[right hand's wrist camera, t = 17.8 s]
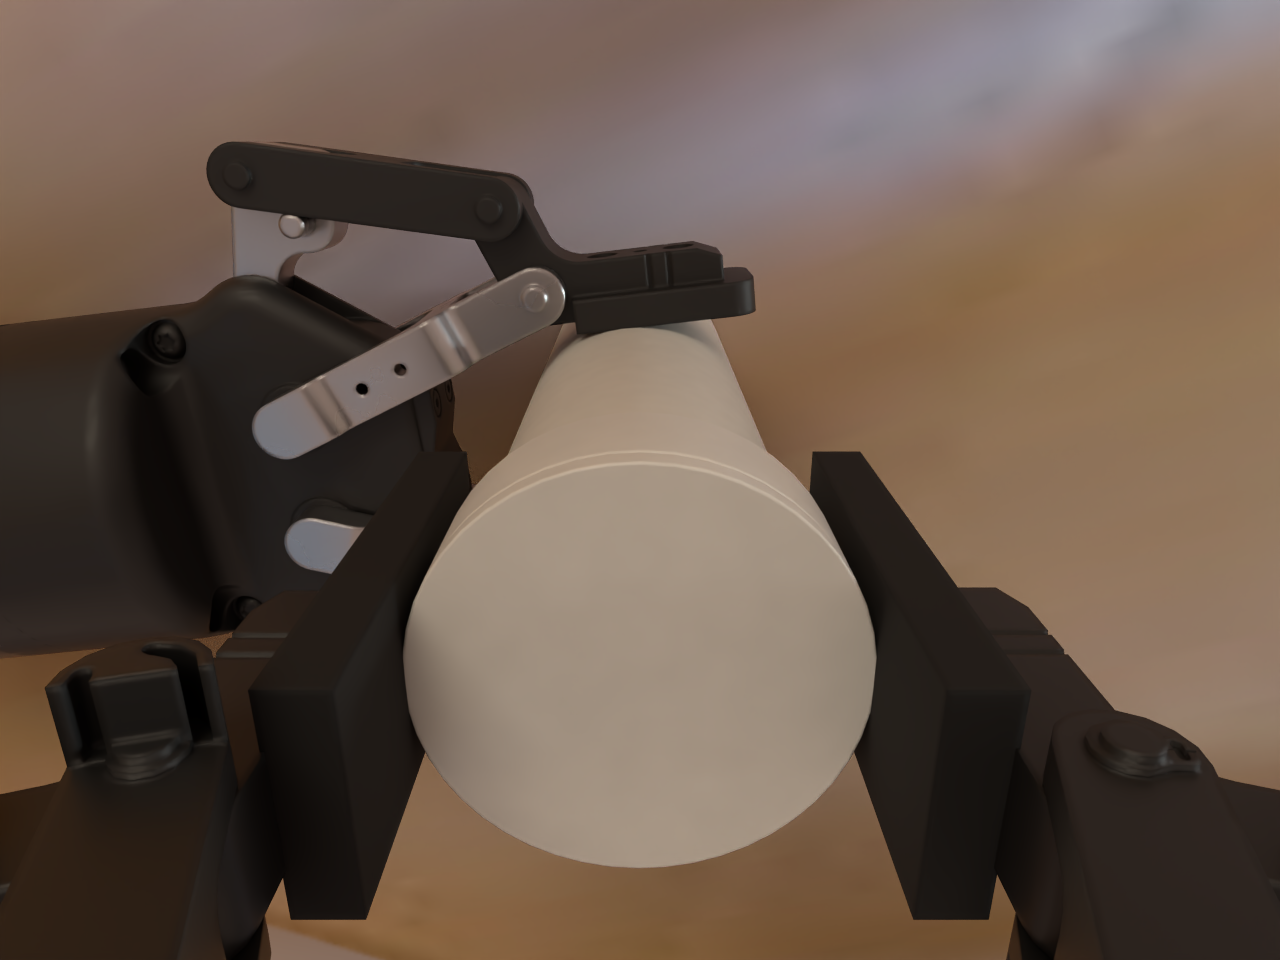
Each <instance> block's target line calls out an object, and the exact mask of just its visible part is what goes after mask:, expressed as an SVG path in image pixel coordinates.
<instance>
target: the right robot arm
mask: <svg viewBox="0 0 1280 960" xmlns="http://www.w3.org/2000/svg"><path fill="white" fill-rule="evenodd" d="M469 494H470V489H469V475H468V462H467V452H419V453H418V454H417V456H416V457H415V458H414V460H413V461H412V463H411V464H410V465H409V467H408V468H407V469H406V471H405V472H404V474H403V475H402V476H401V478H400V479H399V481H398V482H397V483H396V485H395V486H394V488H393V489H392V490H391V492H390V493H389V495H388V496H387V497H386V499H385V500H384V501H383V503H382V504H381V506H380V507H379V508H378V510H377V511H376V513H375V514H374V515H373V517H372V518H371V520H370V521H369V522H368V524H367V525H366V526H365V528H364V529H363V531H362V532H361V533H360V535H359V536H358V538H357V539H356V540H355V542H354V543H353V545H352V546H351V547H350V549H349V550H348V551H347V553H346V554H345V556H344V557H343V558H342V560H341V561H340V563H339V564H338V565H337V567H336V568H335V570H334V571H333V572H332V574H331V575H330V577H329V578H328V579H327V581H326V582H325V583H324V585H323V586H322V588H321V589H320V590H284V591H282V592H281V593H279V594H278V595H276V596H274V597H273V598H271V599H269V600H268V601H266V602H264V603H263V604H261V605H259V606H258V607H256V608H255V609H253V610H251V612H250V613H249V614H248V615H247V616H246V618H245V619H244V620H243V621H242V622H241V624H240V625H239V626H238V627H237V628H236V630H235V631H234V632H233V633H232V638H228V639H227V640H226V642H225V643H224V644H223V645H222V646H221V648H220V649H219V650H218V651H217V652H216V658H213V655H212V650H210V649H209V648H208V647H206V646H205V645H204V644H202V643H201V642H200V641H197V640H192V639H187V638H182V637H177V636H173V637H150V638H144V639H139V640H134V641H130V642H125V643H120V644H116V645H113V646H111V647H108V648H105V649H103V650H100V651H97V652H95V653H92V654H90V655H87V656H85V657H83V658H82V659H80V660H78V661H77V662H75V663H73V664H72V665H70V666H68V667H67V668H65V669H63V670H62V671H60V672H59V673H58V674H57V675H56V676H55V678H54V679H53V680H52V681H51V682H50V683H49V684H48V685H47V686H46V687H45V691H46V694H47V698H48V701H49V705H50V708H51V712H52V715H53V719H54V722H55V726H56V729H57V733H58V736H59V740H60V743H61V747H62V750H63V754H64V757H65V761H66V764H67V768H66V771H65V773H64V775H63V777H62V779H61V781H60V782H56V783H52V784H48V785H44V786H39V787H35V788H30V789H25V790H20V791H15V792H10V793H5V794H0V960H270V958H271V948H270V941H269V934H268V929H267V924H266V919H265V913H266V911H267V909H268V907H269V905H270V903H271V901H272V899H273V897H274V895H275V893H276V890H277V888H278V886H279V884H280V882H281V880H282V878H283V880H284V886H285V891H286V896H287V902H288V907H289V912H290V918H291V920H366V918H367V915H368V913H369V910H370V907H371V904H372V901H373V898H374V896H375V893H376V890H377V887H378V884H379V881H380V879H381V876H382V873H383V870H384V867H385V864H386V862H387V859H388V856H389V853H390V850H391V847H392V845H393V842H394V839H395V836H396V833H397V830H398V828H399V825H400V822H401V819H402V816H403V814H404V811H405V808H406V805H407V802H408V799H409V797H410V794H411V791H412V788H413V785H414V782H415V780H416V777H417V774H418V771H419V768H420V765H421V763H422V760H423V757H424V754H425V750H424V748H423V746H422V744H421V742H420V740H419V738H418V736H417V734H416V731H415V728H414V725H413V722H412V719H411V716H410V713H409V709H408V700H407V692H406V684H405V674H404V664H403V646H404V638H405V630H406V625H407V622H408V619H409V615H410V612H411V608H412V605H413V601H414V599H415V597H416V595H417V593H418V591H419V589H420V586H421V584H422V582H423V580H424V578H425V576H426V574H427V572H428V570H429V568H430V566H431V564H432V562H433V560H434V558H435V556H436V554H437V552H438V550H439V548H440V546H441V544H442V542H443V540H444V538H445V536H446V534H447V532H448V530H449V528H450V526H451V524H452V522H453V520H454V518H455V516H456V514H457V512H458V510H459V509H460V507H461V506H462V504H463V503H464V501H465V500H466V498H467V497H468V495H469ZM810 494H811V496H812V497H813V499H814V500H815V502H816V504H817V505H818V507H819V508H820V510H821V512H822V513H823V515H824V517H825V519H826V521H827V523H828V525H829V527H830V529H831V531H832V533H833V535H834V537H835V539H836V541H837V543H838V545H839V547H840V549H841V551H842V553H843V555H844V557H845V559H846V561H847V563H848V565H849V567H850V569H851V571H852V573H853V575H854V577H855V579H856V581H857V583H858V585H859V588H860V590H861V592H862V594H863V597H864V599H865V601H866V603H867V606H868V610H869V614H870V617H871V621H872V625H873V628H874V633H875V643H876V656H877V658H876V668H875V678H874V687H873V695H872V704H871V712H870V715H869V718H868V720H867V723H866V726H865V729H864V732H863V734H862V737H861V739H860V741H859V743H858V745H857V747H856V749H855V750H854V753H855V756H856V758H857V761H858V764H859V767H860V770H861V773H862V775H863V778H864V781H865V784H866V787H867V790H868V792H869V795H870V798H871V801H872V804H873V807H874V809H875V812H876V815H877V818H878V821H879V824H880V826H881V829H882V832H883V835H884V838H885V841H886V843H887V846H888V849H889V852H890V855H891V858H892V860H893V863H894V866H895V869H896V872H897V874H898V877H899V880H900V883H901V886H902V889H903V891H904V894H905V897H906V900H907V903H908V906H909V908H910V911H911V914H912V917H913V920H989V915H990V909H991V904H992V899H993V893H994V888H995V883H996V877H997V875H998V877H999V879H1000V881H1001V883H1002V885H1003V887H1004V889H1005V891H1006V893H1007V895H1008V897H1009V899H1010V901H1011V903H1012V905H1013V908H1014V910H1015V912H1016V914H1015V919H1014V924H1013V929H1012V934H1011V939H1010V944H1009V949H1008V954H1007V959H1006V960H1280V790H1275V789H1270V788H1265V787H1260V786H1255V785H1250V784H1245V783H1240V782H1235V781H1231V780H1228V779H1224V778H1220V777H1218V775H1217V773H1216V771H1215V769H1214V767H1213V765H1212V764H1211V763H1210V761H1209V760H1208V759H1207V758H1206V756H1205V755H1204V754H1203V753H1202V751H1201V750H1200V749H1199V748H1198V747H1197V746H1196V745H1194V744H1193V743H1191V742H1190V741H1188V740H1187V739H1186V738H1184V737H1183V736H1181V735H1180V734H1179V733H1177V732H1176V731H1174V730H1172V729H1170V728H1167V727H1165V726H1163V725H1161V724H1158V723H1156V722H1154V721H1151V720H1149V719H1147V718H1144V717H1140V716H1136V715H1132V714H1128V713H1124V712H1120V711H1116V710H1114V709H1113V707H1112V706H1111V705H1110V704H1109V703H1108V701H1107V700H1106V699H1105V698H1104V697H1103V695H1102V694H1101V693H1100V692H1099V691H1098V690H1097V688H1096V687H1095V686H1094V685H1093V684H1092V682H1091V681H1090V680H1089V679H1088V678H1087V676H1086V675H1085V674H1084V673H1083V672H1082V671H1081V669H1080V668H1079V667H1078V666H1077V665H1076V663H1075V662H1074V661H1073V660H1072V659H1071V657H1070V656H1069V655H1068V654H1064V649H1063V648H1062V647H1061V646H1060V644H1059V643H1058V642H1057V641H1056V640H1055V638H1054V637H1053V636H1052V635H1048V630H1047V629H1046V628H1045V627H1044V625H1043V624H1042V623H1041V622H1040V621H1039V619H1038V618H1037V617H1036V616H1035V615H1034V613H1033V612H1032V611H1031V610H1030V609H1029V608H1028V607H1027V606H1025V605H1024V604H1022V603H1020V602H1019V601H1017V600H1015V599H1014V598H1012V597H1010V596H1009V595H1007V594H1005V593H1004V592H1002V591H1001V590H999V589H997V588H958V587H957V586H956V584H955V583H954V581H953V580H952V579H951V577H950V576H949V575H948V573H947V572H946V570H945V569H944V568H943V566H942V565H941V563H940V562H939V561H938V559H937V558H936V556H935V555H934V554H933V552H932V551H931V550H930V548H929V547H928V545H927V544H926V543H925V541H924V540H923V538H922V537H921V536H920V534H919V533H918V531H917V530H916V529H915V527H914V526H913V524H912V523H911V522H910V520H909V519H908V518H907V516H906V515H905V513H904V512H903V511H902V509H901V508H900V506H899V505H898V504H897V502H896V501H895V499H894V498H893V497H892V495H891V494H890V493H889V491H888V490H887V488H886V487H885V486H884V484H883V483H882V481H881V480H880V479H879V477H878V476H877V474H876V473H875V472H874V470H873V469H872V467H871V466H870V465H869V463H868V462H867V461H866V459H865V458H864V456H863V455H862V454H861V452H813V455H812V468H811V482H810Z"/></svg>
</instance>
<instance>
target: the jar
mask: <svg viewBox="0 0 1280 960" xmlns="http://www.w3.org/2000/svg"><path fill="white" fill-rule="evenodd" d="M633 412H648V413H662V414H672V415H677V416H682V417H687V418H692V419H697V420H701V421H704V422H707V423H710V424H713V425H716V426H719V427H722V428H725V429H727V430H729V431H731V432H733V433H735V434H737V435H739V436H741V437H743V438H745V439H747V440H749V441H751V442H753V443H754V444H756V445H757V446H759V447H760V448H762V449H763V450H765V451H766V448H765V446H764V444H763V441H762V439H761V436H760V434H759V432H758V429H757V427H756V425H755V422H754V420H753V417H752V415H751V413H750V410H749V408H748V405H747V403H746V401H745V398H744V396H743V394H742V391H741V389H740V386H739V384H738V382H737V379H736V377H735V374H734V372H733V370H732V367H731V365H730V362H729V360H728V358H727V355H726V353H725V351H724V348H723V346H722V343H721V341H720V339H719V336H718V334H717V331H716V329H715V327H714V325H713V323H712V320H711V319H709V320H700V321H692V322H683V323H674V324H666V325H657V326H648V327H640V328H626V329H619V330H614V331H605V332H596V333H588V334H579V335H577V332H576V325H575V323H566V324H563V326H562V328H561V330H560V333H559V335H558V337H557V340H556V342H555V344H554V347H553V349H552V351H551V354H550V356H549V359H548V361H547V363H546V366H545V368H544V370H543V373H542V375H541V377H540V380H539V382H538V385H537V387H536V389H535V392H534V394H533V396H532V399H531V401H530V403H529V406H528V408H527V411H526V413H525V415H524V418H523V420H522V422H521V425H520V427H519V429H518V432H517V434H516V437H515V439H514V441H513V444H512V446H511V448H510V451H509V453H508V454H510V453H511V452H513V451H515V450H516V449H518V448H519V447H521V446H522V445H524V444H525V443H527V442H529V441H530V440H532V439H534V438H536V437H538V436H540V435H542V434H544V433H547V432H549V431H551V430H553V429H555V428H557V427H560V426H563V425H567V424H570V423H573V422H576V421H579V420H582V419H586V418H592V417H597V416H602V415H608V414H615V413H633ZM766 452H767V451H766Z"/></svg>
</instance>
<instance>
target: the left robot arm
mask: <svg viewBox="0 0 1280 960" xmlns="http://www.w3.org/2000/svg"><path fill="white" fill-rule="evenodd" d="M206 169H207V178H208V181H209V184H210V186H211V188H212V190H213V191H214V193H215V194H216V195H217V196H218V197H219V199H221V200H222V201H223V202H224V203H226V204H228V205H230V206H231V216H232V246H233V278H230V279H227V280H225V281H223V282H222V283H220V284H219V285H217V286H216V287H214V288H213V289H212V290H211V291H210V292H209V293H208V294H206V295H205V296H204V297H203V298H201V299H200V300H198V301H196V302H191V303H185V304H177V305H169V306H160V307H152V308H143V309H135V310H126V311H118V312H109V313H101V314H92V315H84V316H75V317H67V318H58V319H50V320H41V321H33V322H24V323H16V324H8V325H0V659H1V658H11V657H21V656H30V655H41V654H51V653H60V652H70V651H80V650H90V649H100V648H108V647H111V646H113V645H116V644H120V643H125V642H130V641H134V640H139V639H144V638H150V637H173V636H177V637H182V638H187V639H197V638H206V637H212V636H217V635H222V634H226V633H230V632H234V631H235V630H236V628H237V627H238V626H239V625H240V624H241V622H242V621H243V620H244V619H245V618H246V616H247V615H248V614H249V613H250V612H251V610H253V609H255V608H256V607H258V606H259V605H261V604H263V603H264V602H266V601H268V600H269V599H271V598H273V597H274V596H276V595H278V594H279V593H281V592H282V591H284V590H320V589H321V588H322V586H323V585H324V583H325V582H326V581H327V579H328V578H329V577H330V575H331V574H332V572H333V571H334V570H335V568H336V567H337V565H338V564H339V563H340V561H341V560H342V558H343V557H344V556H345V554H346V553H347V551H348V550H349V549H350V547H351V546H352V545H353V543H354V542H355V540H356V539H357V538H358V536H359V535H360V533H361V532H362V531H363V529H364V528H365V526H366V525H367V524H368V522H369V521H370V520H371V518H372V517H373V515H374V514H375V513H376V511H377V510H378V508H379V507H380V506H381V504H382V503H383V501H384V500H385V499H386V497H387V496H388V495H389V493H390V492H391V490H392V489H393V488H394V486H395V485H396V483H397V482H398V481H399V479H400V478H401V476H402V475H403V474H404V472H405V471H406V469H407V468H408V467H409V465H410V464H411V463H412V461H413V460H414V458H415V457H416V456H417V454H418V453H419V452H462V450H461V448H460V446H459V444H458V442H457V440H456V438H455V436H454V434H453V418H454V404H455V397H454V392H453V387H452V382H451V378H452V377H454V376H456V375H458V374H460V373H461V372H463V371H465V370H466V369H468V368H469V367H470V366H472V365H473V364H475V363H476V362H478V361H480V360H482V359H483V358H485V357H487V356H489V355H491V354H493V353H495V352H497V351H499V350H501V349H503V348H505V347H507V346H509V345H511V344H513V343H515V342H517V341H519V340H521V339H523V338H525V337H527V336H529V335H531V334H533V333H535V332H537V331H539V330H541V329H543V328H545V327H547V326H549V325H558V324H566V323H575V325H576V332H577V335H579V334H588V333H596V332H605V331H614V330H619V329H626V328H640V327H648V326H657V325H666V324H674V323H683V322H692V321H700V320H709V319H717V318H726V317H735V316H741V315H746V314H750V313H752V312H754V311H755V310H756V308H755V294H754V279H753V275H752V274H751V273H750V272H749V271H748V270H747V269H746V268H743V267H729V268H723V257H722V254H721V253H720V252H719V250H718V249H717V248H716V247H712V246H709V245H705V244H701V243H698V242H694V241H689V242H681V243H672V244H666V245H655V246H649V247H639V248H630V249H622V250H614V251H605V252H597V253H588V254H577V253H572V252H569V251H567V250H564V249H563V248H561V247H560V246H559V245H557V244H556V243H555V242H554V240H553V239H552V238H551V236H550V235H549V233H548V231H547V229H546V228H545V226H544V224H543V222H542V220H541V218H540V216H539V214H538V212H537V210H536V208H535V206H534V199H533V194H532V191H531V189H530V188H529V186H528V185H527V183H526V182H525V181H524V180H523V179H521V178H520V177H518V176H516V175H514V174H510V173H503V172H496V171H489V170H482V169H474V168H467V167H460V166H453V165H445V164H438V163H431V162H424V161H416V160H409V159H402V158H395V157H387V156H380V155H373V154H366V153H359V152H351V151H344V150H337V149H330V148H322V147H315V146H308V145H301V144H293V143H286V142H227V143H224V144H221V145H220V146H218V147H217V148H215V149H214V150H213V152H212V153H211V155H210V157H209V159H208V162H207V168H206ZM348 223H352V224H360V225H367V226H375V227H382V228H389V229H397V230H404V231H412V232H419V233H427V234H434V235H441V236H449V237H456V238H464V239H471V240H475V241H476V243H477V245H478V247H479V249H480V250H481V252H482V254H483V256H484V258H485V259H486V261H487V263H488V265H489V267H490V269H491V270H492V272H493V274H494V276H495V277H494V278H492V279H490V280H488V281H486V282H484V283H482V284H480V285H478V286H476V287H474V288H472V289H470V290H468V291H465V292H463V293H460V294H458V295H456V296H454V297H452V298H450V299H449V300H447V301H445V302H443V303H441V304H439V305H437V306H435V307H433V308H431V309H429V310H427V311H425V312H423V313H421V314H420V315H418V316H416V317H414V318H412V319H410V320H408V321H406V322H404V323H402V324H400V325H398V326H396V327H392V326H390V325H388V324H386V323H385V322H383V321H381V320H379V319H377V318H375V317H373V316H371V315H370V314H368V313H366V312H364V311H362V310H360V309H358V308H356V307H354V306H353V305H351V304H349V303H347V302H345V301H343V300H341V299H339V298H337V297H336V296H334V295H332V294H330V293H328V292H326V291H324V290H322V289H320V288H319V287H317V286H315V285H313V284H311V283H309V282H307V281H305V280H304V279H302V278H300V277H298V276H296V275H294V268H295V265H296V262H297V260H298V259H299V258H300V256H301V255H302V254H304V253H314V252H318V251H321V250H324V249H327V248H330V247H333V246H335V245H336V244H338V243H339V242H340V241H341V240H342V239H343V238H344V236H345V234H346V232H347V228H348ZM468 475H469V489H470V492H471V491H472V490H473V488H474V487H475V486H476V484H472V483H471V478H470V473H469V468H468Z"/></svg>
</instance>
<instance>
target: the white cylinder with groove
mask: <svg viewBox="0 0 1280 960" xmlns="http://www.w3.org/2000/svg"><path fill="white" fill-rule="evenodd" d="M876 658H877V656H876V643H875V633H874V628H873V625H872V621H871V617H870V614H869V610H868V606H867V603H866V601H865V599H864V597H863V594H862V592H861V590H860V588H859V585H858V583H857V581H856V579H855V577H854V575H853V573H852V571H851V569H850V567H849V565H848V563H847V561H846V559H845V557H844V555H843V553H842V551H841V549H840V547H839V545H838V543H837V541H836V539H835V537H834V535H833V533H832V531H831V529H830V527H829V525H828V523H827V521H826V519H825V517H824V515H823V513H822V512H821V510H820V508H819V507H818V505H817V504H816V502H815V500H814V499H813V497H812V496H811V494H810V493H809V492H808V491H807V489H806V488H805V487H804V486H803V485H802V484H801V482H800V481H799V480H798V479H797V478H796V476H795V475H794V474H793V473H792V472H791V471H789V470H788V469H787V468H786V467H785V466H784V465H783V464H782V463H780V462H779V461H778V460H777V459H776V458H775V457H774V456H772V455H771V454H769V453H768V452H766V451H765V450H763V449H762V448H760V447H759V446H757V445H756V444H754V443H753V442H751V441H749V440H747V439H745V438H743V437H741V436H739V435H737V434H735V433H733V432H731V431H729V430H727V429H725V428H722V427H719V426H716V425H713V424H710V423H707V422H704V421H701V420H697V419H692V418H687V417H682V416H677V415H672V414H662V413H648V412H633V413H615V414H608V415H602V416H597V417H592V418H586V419H582V420H579V421H576V422H573V423H570V424H567V425H563V426H560V427H557V428H555V429H553V430H551V431H549V432H547V433H544V434H542V435H540V436H538V437H536V438H534V439H532V440H530V441H529V442H527V443H525V444H524V445H522V446H521V447H519V448H518V449H516V450H515V451H513V452H511V453H510V454H508V455H507V456H506V457H505V458H504V459H503V460H501V461H500V462H499V463H498V464H497V465H496V466H494V467H493V468H492V469H491V470H490V471H489V472H488V473H487V474H486V475H485V476H484V477H483V478H482V479H481V481H480V482H479V483H478V484H477V485H476V486H475V487H474V488H473V490H472V491H471V492H470V494H469V495H468V497H467V498H466V500H465V501H464V503H463V504H462V506H461V507H460V509H459V510H458V512H457V514H456V516H455V518H454V520H453V522H452V524H451V526H450V528H449V530H448V532H447V534H446V536H445V538H444V540H443V542H442V544H441V546H440V548H439V550H438V552H437V554H436V556H435V558H434V560H433V562H432V564H431V566H430V568H429V570H428V572H427V574H426V576H425V578H424V580H423V582H422V584H421V586H420V589H419V591H418V593H417V595H416V597H415V599H414V601H413V605H412V608H411V612H410V615H409V619H408V622H407V625H406V630H405V638H404V646H403V664H404V674H405V684H406V692H407V700H408V709H409V713H410V716H411V719H412V722H413V725H414V728H415V731H416V734H417V736H418V738H419V740H420V742H421V744H422V746H423V748H424V750H425V752H426V754H427V756H428V758H429V759H430V761H431V762H432V764H433V765H434V766H435V768H436V769H437V771H438V772H439V774H440V775H441V777H442V778H443V779H444V781H445V782H446V783H447V784H448V785H449V786H450V787H451V788H452V789H453V790H454V792H455V793H456V794H457V795H458V796H459V797H460V798H461V799H462V800H463V801H464V802H465V803H466V804H468V805H469V806H470V807H471V808H472V809H473V810H475V811H476V812H477V813H478V814H479V815H480V816H481V817H483V818H484V819H486V820H487V821H489V822H490V823H492V824H493V825H495V826H496V827H498V828H499V829H501V830H502V831H504V832H505V833H507V834H509V835H511V836H513V837H515V838H517V839H519V840H521V841H523V842H524V843H526V844H528V845H531V846H533V847H536V848H538V849H541V850H544V851H546V852H549V853H551V854H554V855H557V856H561V857H565V858H568V859H572V860H576V861H579V862H584V863H590V864H596V865H602V866H609V867H624V868H656V867H670V866H676V865H683V864H690V863H696V862H699V861H703V860H707V859H711V858H715V857H719V856H722V855H725V854H728V853H730V852H733V851H736V850H738V849H741V848H744V847H747V846H749V845H751V844H753V843H755V842H757V841H759V840H761V839H763V838H765V837H767V836H769V835H771V834H772V833H774V832H775V831H777V830H779V829H780V828H782V827H783V826H785V825H786V824H788V823H789V822H791V821H792V820H794V819H795V818H796V817H798V816H799V815H800V814H801V813H802V812H804V811H805V810H806V809H807V808H808V807H810V806H811V805H812V804H813V803H814V802H816V800H817V799H818V798H819V797H820V796H821V795H822V794H823V793H824V792H825V791H826V790H827V789H828V788H829V787H830V785H831V784H832V783H833V782H834V781H835V780H836V778H837V777H838V775H839V774H840V773H841V771H842V770H843V768H844V767H845V766H846V764H847V763H848V761H849V760H850V758H851V756H852V754H853V752H854V750H855V749H856V747H857V745H858V743H859V741H860V739H861V737H862V734H863V732H864V729H865V726H866V723H867V720H868V718H869V715H870V712H871V704H872V695H873V687H874V678H875V668H876Z"/></svg>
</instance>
